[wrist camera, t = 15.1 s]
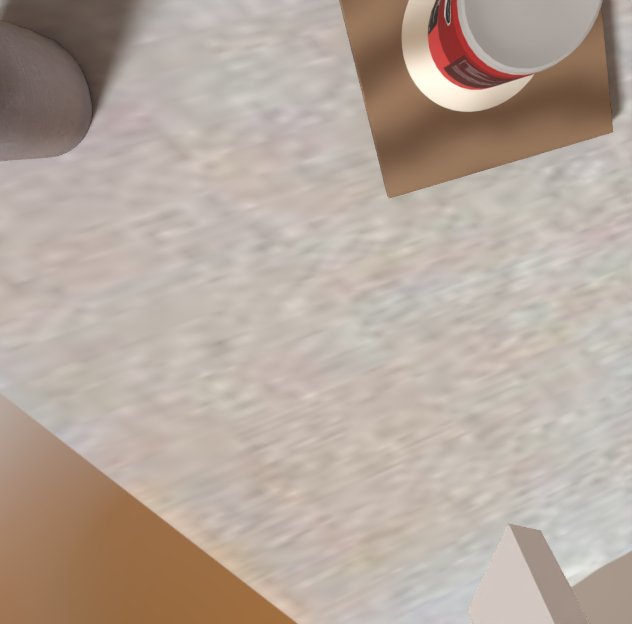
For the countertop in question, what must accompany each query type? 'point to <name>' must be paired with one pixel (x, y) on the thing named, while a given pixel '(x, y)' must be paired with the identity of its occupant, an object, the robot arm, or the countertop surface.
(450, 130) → the board
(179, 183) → the countertop surface
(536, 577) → the robot arm
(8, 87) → the pillar candle
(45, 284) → the countertop surface
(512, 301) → the countertop surface
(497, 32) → the canned food
